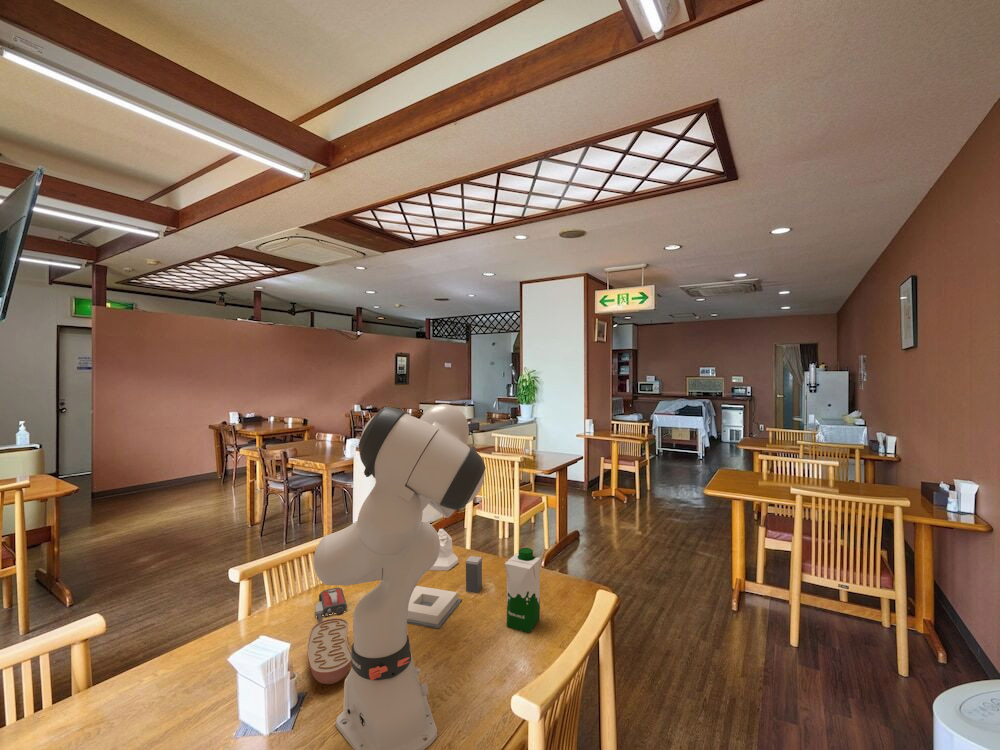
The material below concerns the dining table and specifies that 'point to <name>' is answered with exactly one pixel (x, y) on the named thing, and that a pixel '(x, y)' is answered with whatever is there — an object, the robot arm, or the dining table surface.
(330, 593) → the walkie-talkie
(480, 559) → the plug
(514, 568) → the milk carton
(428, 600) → the socket
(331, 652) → the anatomical model
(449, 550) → the white statue
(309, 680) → the dining table surface
